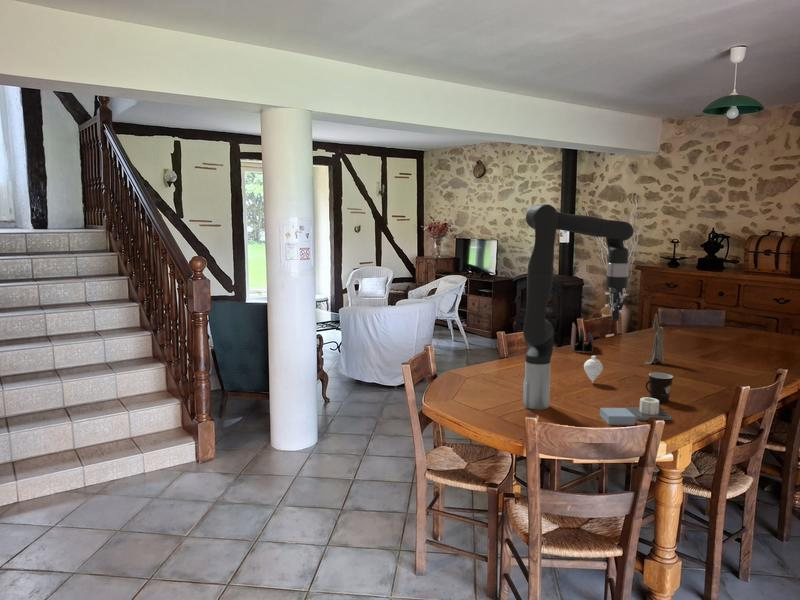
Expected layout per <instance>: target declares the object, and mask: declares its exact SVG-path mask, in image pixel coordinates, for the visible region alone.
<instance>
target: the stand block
mask: <svg viewBox="0 0 800 600" xmlns="http://www.w3.org/2000/svg"><path fill="white" fill-rule="evenodd" d="M599 409H600V410H599V416H600V418H601V419H602V420H603V421H604V422H605V423H606V424H607V425H609V426H610V425H611V426H612V425H613V426H615V425H616V426H621V425H622V426H635V425H636V419H635V416H634V415H633V414H632V413H631V412H630V411H628V410H627V407H599Z"/></svg>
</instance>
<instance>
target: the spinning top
mask: <svg viewBox="0 0 800 600" xmlns="http://www.w3.org/2000/svg"><path fill="white" fill-rule="evenodd" d="M590 357H591V358H589V359H587V360H586V361H585V362H584V364H583V369H584V371H585V373H586V375H587V377H588V378H589V380H590V381H591V383H592V384H594V381H595V380H596V379H597V378H598V377H599V376H600V374H601V373H602V371H603V368H604V367H603V364H602V362H601V361H600V360H599V359H597V355H591V356H590Z"/></svg>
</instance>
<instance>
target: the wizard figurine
mask: <svg viewBox="0 0 800 600" xmlns="http://www.w3.org/2000/svg"><path fill="white" fill-rule="evenodd" d="M659 324H660V323H659V319H658V314H657V313H655V314H654V318H653V325H652V329H654V330H656V329H657V328H658V329H657V331H656V333H655V336H654V341H653V344H652V345H653V346H652V351H651V356H650V360H648V361H645V362H644V364H645V365H651V364H652V363H653V364H654V365H656V364H657V363H659V364H663V365H665V360H664V359H665V358H664V353H663V352H664V345H663V342H664V341H663V340H665V339H666V338H665V335H664V331H665V329H664V327H662V326H660V325H659Z"/></svg>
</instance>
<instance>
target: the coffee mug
mask: <svg viewBox="0 0 800 600" xmlns="http://www.w3.org/2000/svg"><path fill="white" fill-rule="evenodd" d="M673 379H674V375H672V374H669V373H663V372H649V374H648V380H647V382H646V383H645V389H646V391H647V392H648V393H649V396H650V397H649V398H655V399H657V400H659V404H667V403H668V402H669V401H670V395H671V390H672V384H673V381H674V380H673ZM648 385H649V388H648Z"/></svg>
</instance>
